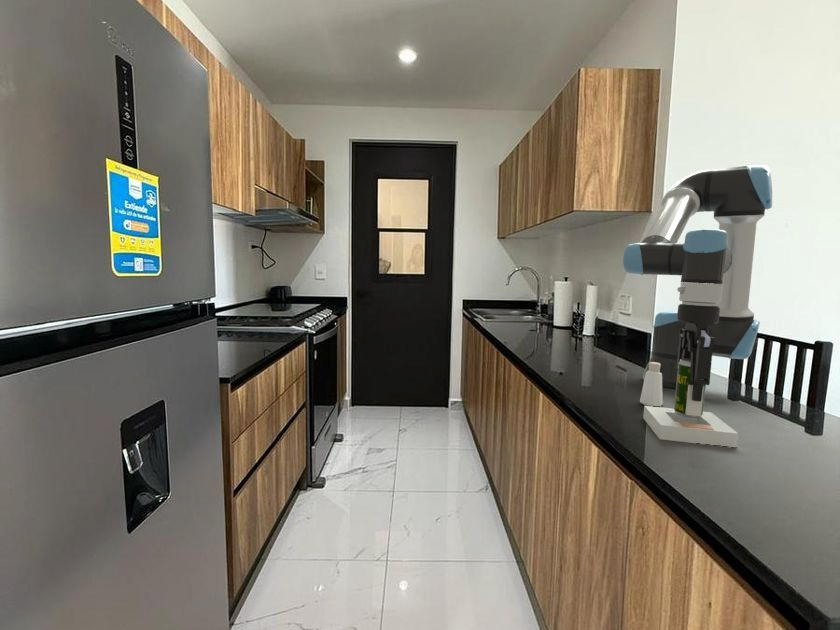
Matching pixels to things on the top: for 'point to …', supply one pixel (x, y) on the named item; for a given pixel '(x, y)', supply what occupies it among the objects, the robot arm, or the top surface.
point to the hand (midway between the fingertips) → (688, 410)
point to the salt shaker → (652, 386)
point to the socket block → (689, 427)
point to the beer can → (684, 388)
